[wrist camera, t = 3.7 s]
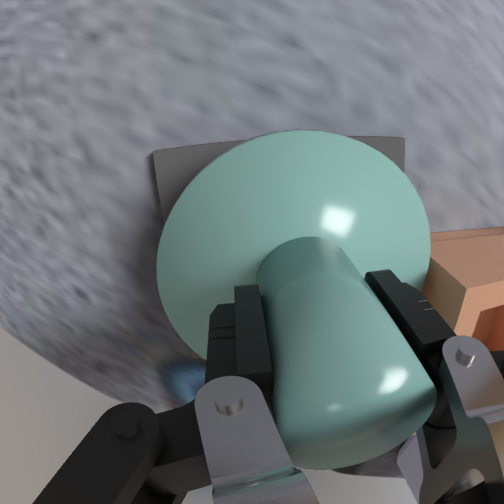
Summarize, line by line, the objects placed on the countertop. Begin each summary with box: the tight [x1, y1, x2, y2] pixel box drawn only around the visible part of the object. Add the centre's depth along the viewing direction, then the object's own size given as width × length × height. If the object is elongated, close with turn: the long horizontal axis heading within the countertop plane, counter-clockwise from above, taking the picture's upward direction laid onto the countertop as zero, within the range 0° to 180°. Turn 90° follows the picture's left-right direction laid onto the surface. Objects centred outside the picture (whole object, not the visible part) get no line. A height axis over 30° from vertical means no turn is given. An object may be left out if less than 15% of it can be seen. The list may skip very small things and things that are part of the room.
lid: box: [156, 129, 437, 470], centre depth 8 cm, size 10×10×7 cm
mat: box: [153, 136, 405, 359], centre depth 13 cm, size 10×10×1 cm
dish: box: [413, 227, 504, 435], centre depth 13 cm, size 9×9×5 cm
